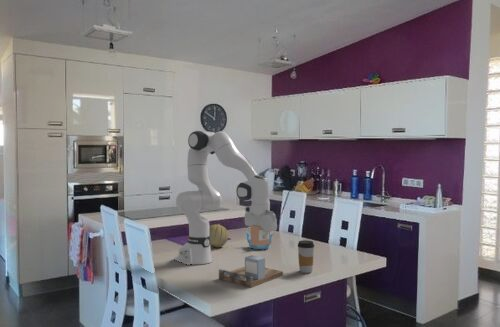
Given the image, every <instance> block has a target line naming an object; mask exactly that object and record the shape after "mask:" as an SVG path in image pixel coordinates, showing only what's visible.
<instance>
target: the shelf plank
mask: <svg viewBox="0 0 500 327" xmlns="http://www.w3.org/2000/svg"><path fill="white" fill-rule="evenodd" d="M283 275H284V271H282V270H278V269H273V268H269V267H265V278H262V279H259V280H257V279H253V277H251V276H247V275H245V266H242V267H240V268H235V269H233V270H226V269H222V268H221V269H220V268H219V269H218V280H221V281H224V282H228V283H229V282H230V283H232V284H237V285H240V286H241V285H242V286H243V287H244V286H245V287H247V288H248V287H249V288H254V287H256V286H258V285H262V284H265V283H267V282H269V281H272V280H274V279H277V278H280V277H282V276H283Z"/></svg>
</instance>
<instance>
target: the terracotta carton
mask: <svg viewBox="0 0 500 327" xmlns="http://www.w3.org/2000/svg"><path fill="white" fill-rule="evenodd" d="M264 234H265V232H264V230H263V229H261V227H260V226H255V225H252V226H251V227H250V238H251V244H252V245H255V246H261V245H266V244H270V235H271V231H269V234H268V235H267V239H263V235H264ZM270 245H271V244H270Z"/></svg>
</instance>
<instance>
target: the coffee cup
mask: <svg viewBox="0 0 500 327" xmlns="http://www.w3.org/2000/svg"><path fill="white" fill-rule="evenodd" d="M297 251H298V254H297V255H298V265H299V272H300V273H302V274H311V273H312V272H313V266H314V252H315V244H314V241H313V240H305V239H304V240H303V239H302V240H299V241H298V243H297Z"/></svg>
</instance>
